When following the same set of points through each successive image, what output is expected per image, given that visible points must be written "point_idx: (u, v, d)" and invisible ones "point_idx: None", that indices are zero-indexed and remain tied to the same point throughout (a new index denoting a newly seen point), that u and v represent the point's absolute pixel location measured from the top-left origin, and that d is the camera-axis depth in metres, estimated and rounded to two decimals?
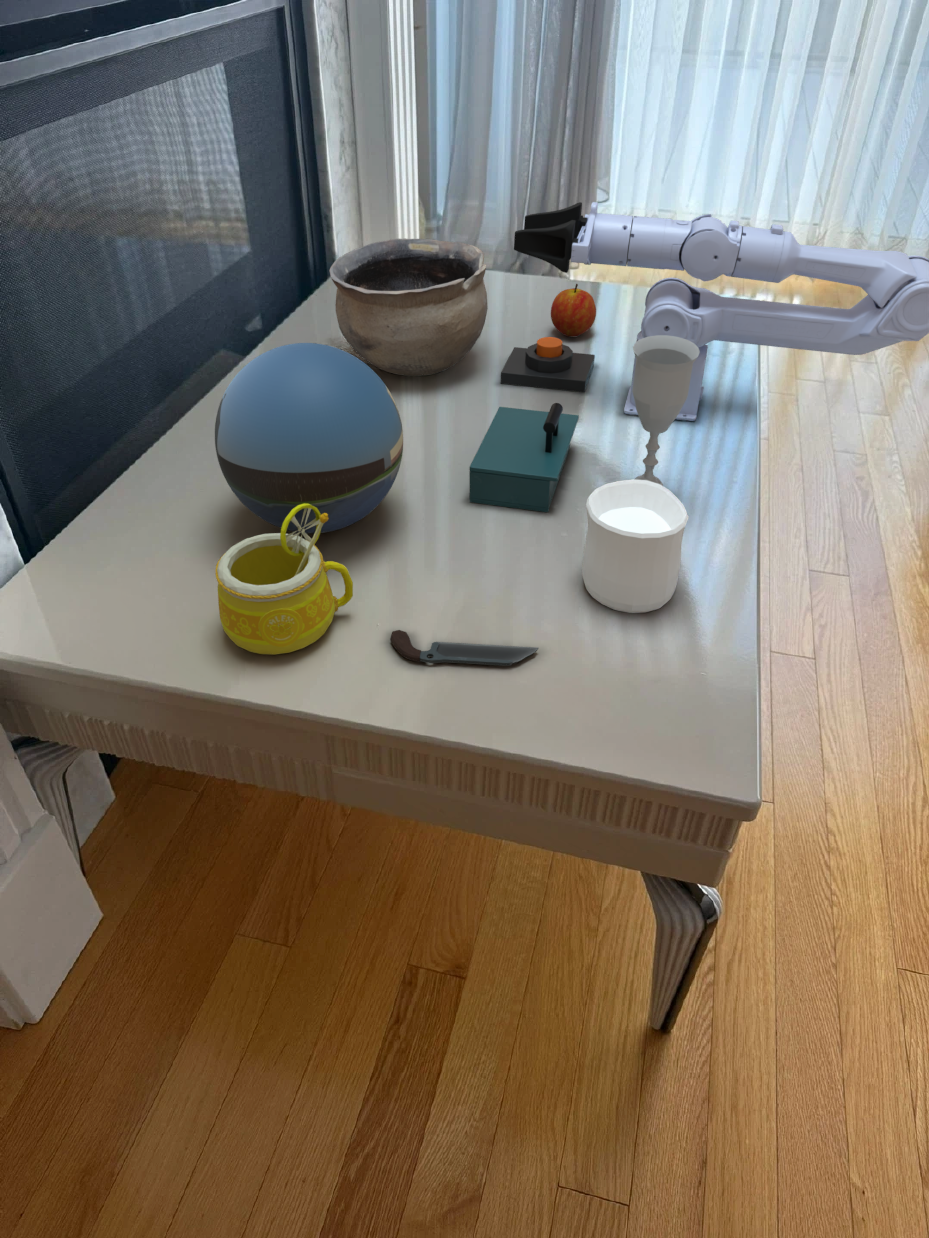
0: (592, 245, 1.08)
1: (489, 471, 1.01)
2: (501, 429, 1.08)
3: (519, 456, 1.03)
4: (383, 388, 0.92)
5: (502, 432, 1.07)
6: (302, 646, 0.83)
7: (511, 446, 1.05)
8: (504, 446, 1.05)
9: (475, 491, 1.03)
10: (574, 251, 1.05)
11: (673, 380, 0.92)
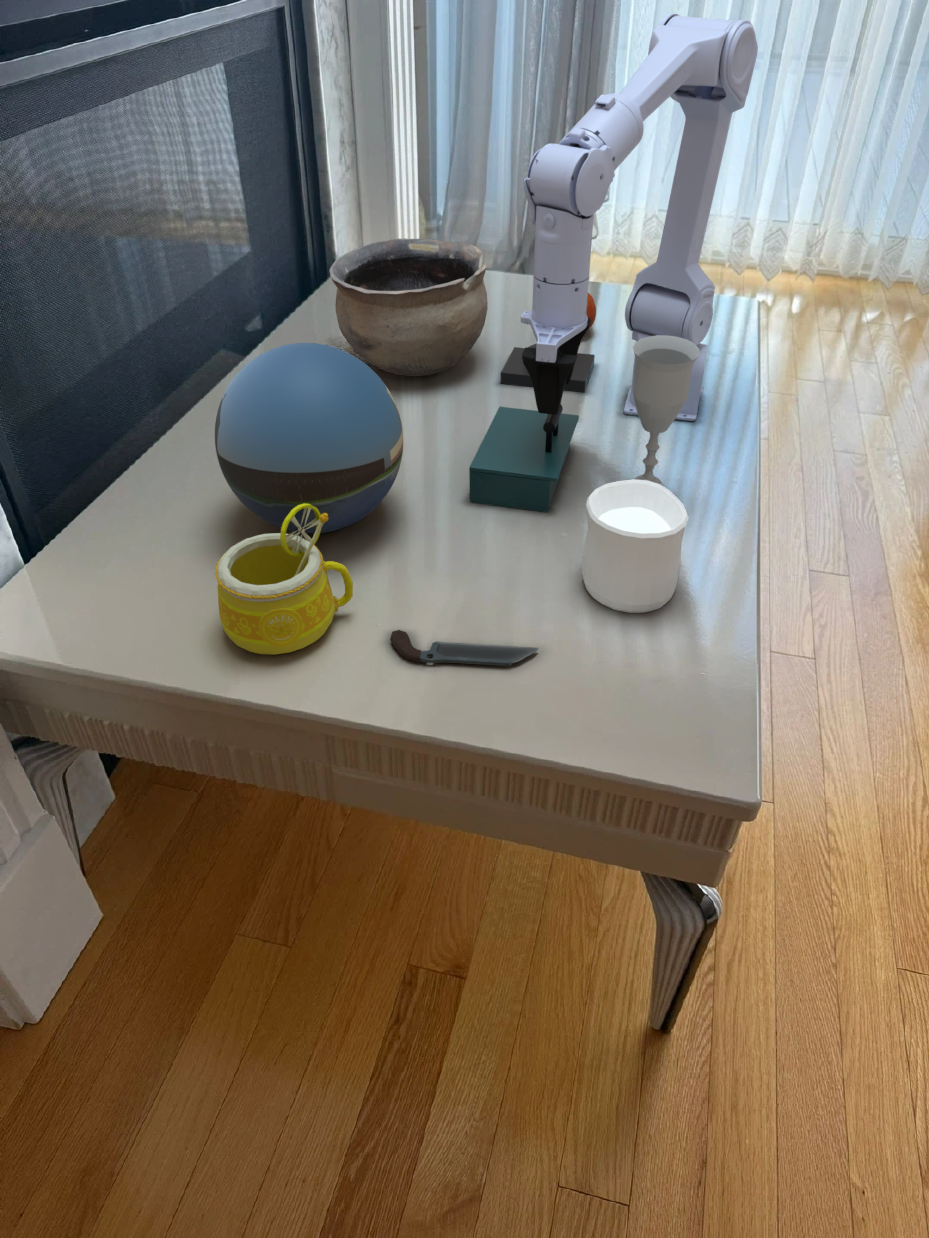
0: (554, 326, 0.93)
1: (489, 471, 1.01)
2: (501, 429, 1.08)
3: (519, 456, 1.03)
4: (383, 388, 0.92)
5: (502, 432, 1.07)
6: (302, 646, 0.83)
7: (511, 446, 1.05)
8: (504, 446, 1.05)
9: (475, 491, 1.03)
10: (542, 358, 0.91)
11: (673, 380, 0.92)
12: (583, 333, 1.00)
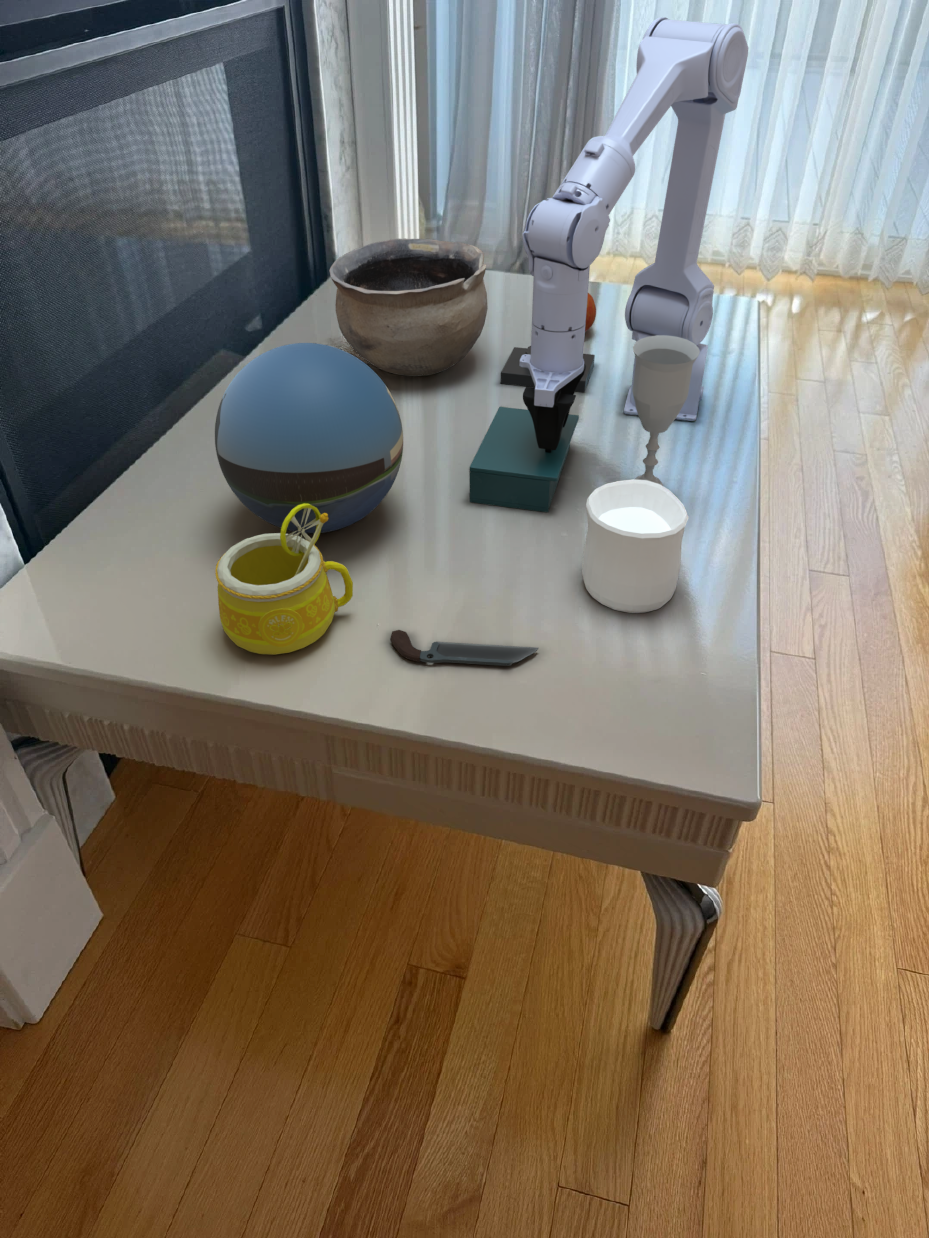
0: (552, 370, 0.96)
1: (489, 471, 1.01)
2: (501, 429, 1.08)
3: (519, 456, 1.03)
4: (383, 388, 0.92)
5: (502, 432, 1.07)
6: (302, 646, 0.83)
7: (511, 446, 1.05)
8: (504, 446, 1.05)
9: (475, 491, 1.03)
10: (540, 403, 0.94)
11: (673, 380, 0.92)
12: (578, 379, 1.02)
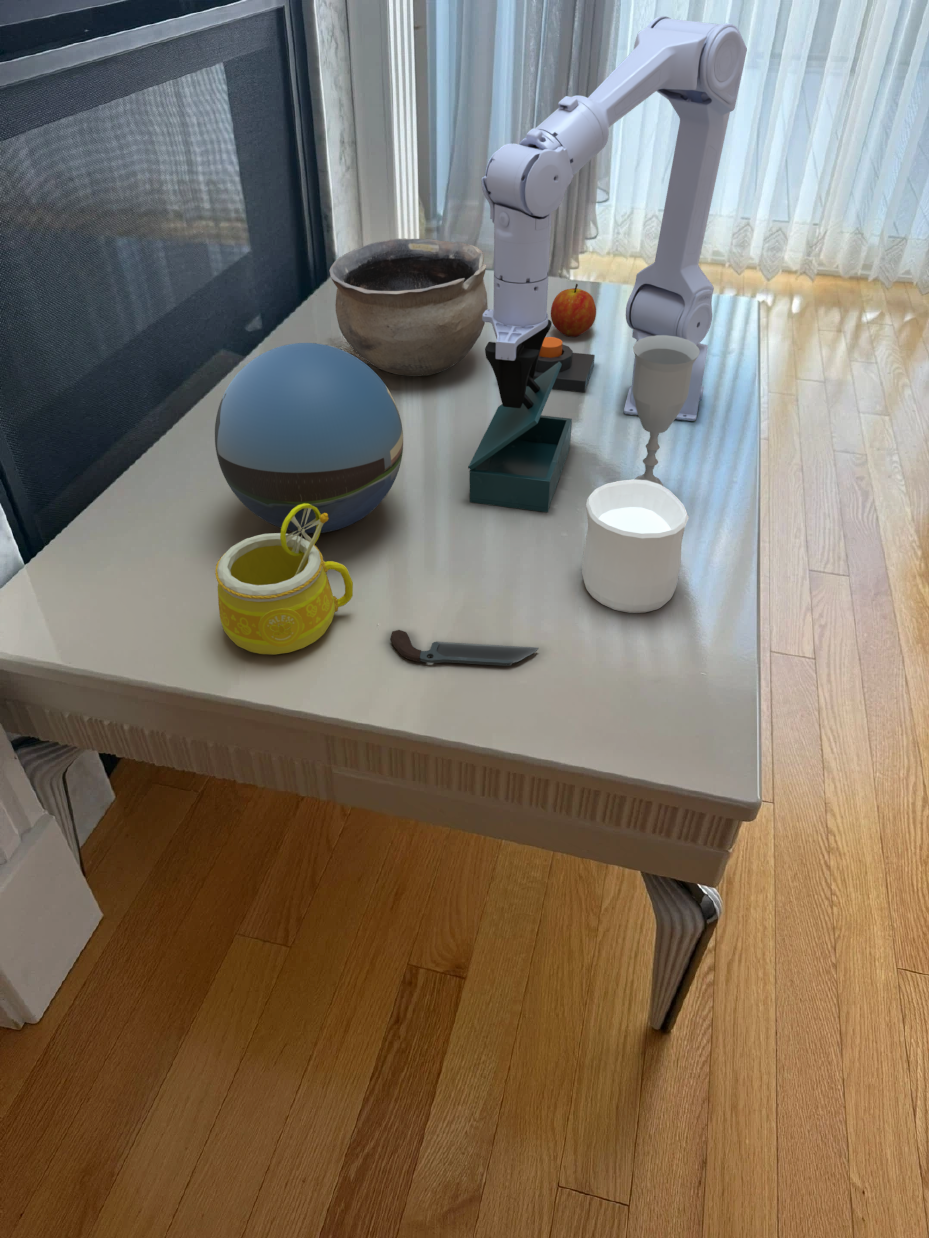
0: (515, 324, 0.94)
1: (484, 458, 1.00)
2: (496, 421, 1.07)
3: (507, 428, 1.01)
4: (383, 388, 0.92)
5: (497, 422, 1.07)
6: (302, 646, 0.83)
7: (502, 427, 1.03)
8: (497, 431, 1.04)
9: (475, 491, 1.03)
10: (502, 356, 0.92)
11: (673, 380, 0.92)
12: (544, 335, 1.00)
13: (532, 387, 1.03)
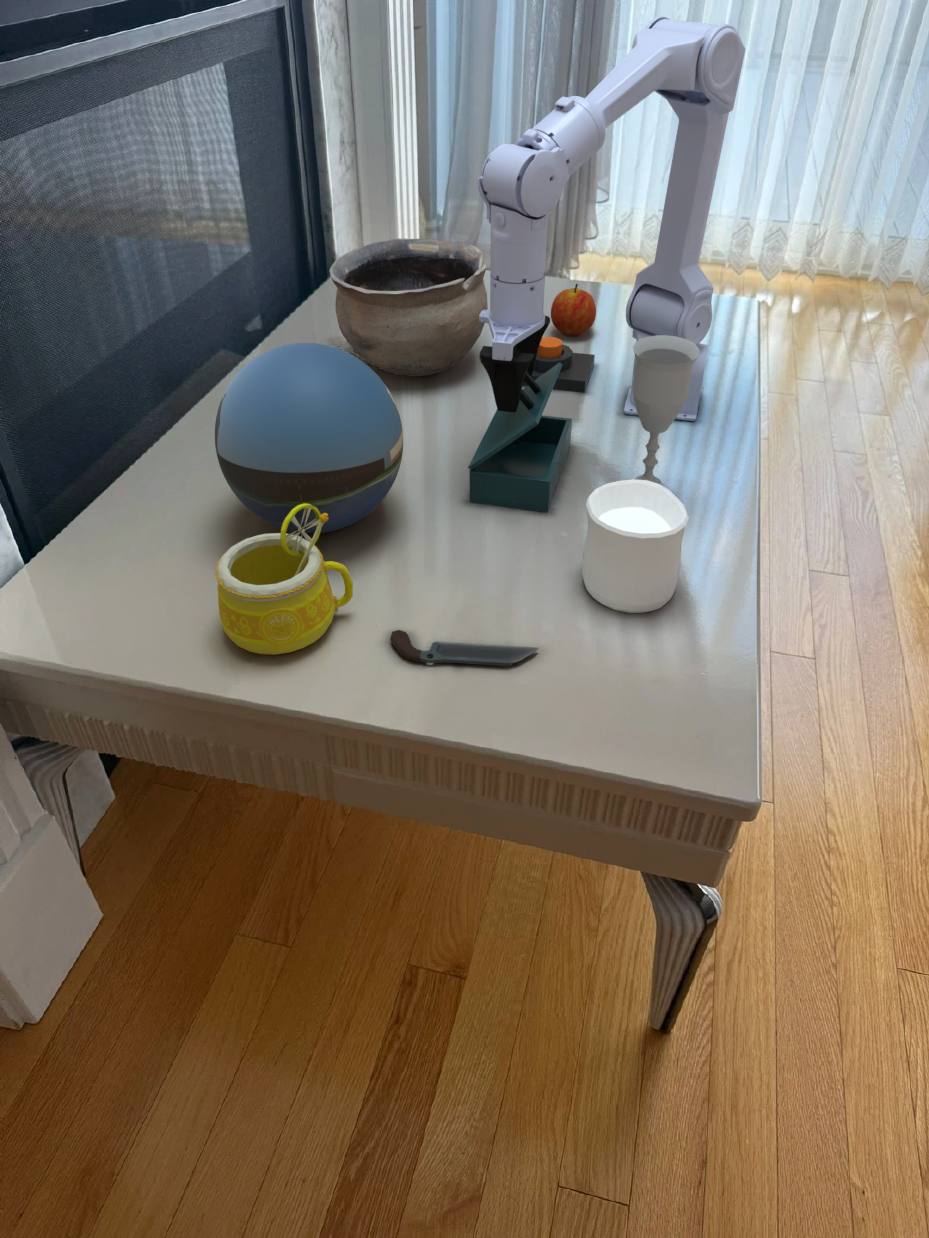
0: (511, 324, 0.94)
1: (484, 458, 1.00)
2: (496, 421, 1.07)
3: (507, 429, 1.01)
4: (383, 388, 0.92)
5: (497, 422, 1.07)
6: (302, 646, 0.83)
7: (502, 427, 1.03)
8: (497, 431, 1.04)
9: (475, 491, 1.03)
10: (498, 356, 0.92)
11: (673, 380, 0.92)
12: (542, 332, 1.01)
13: (533, 388, 1.03)
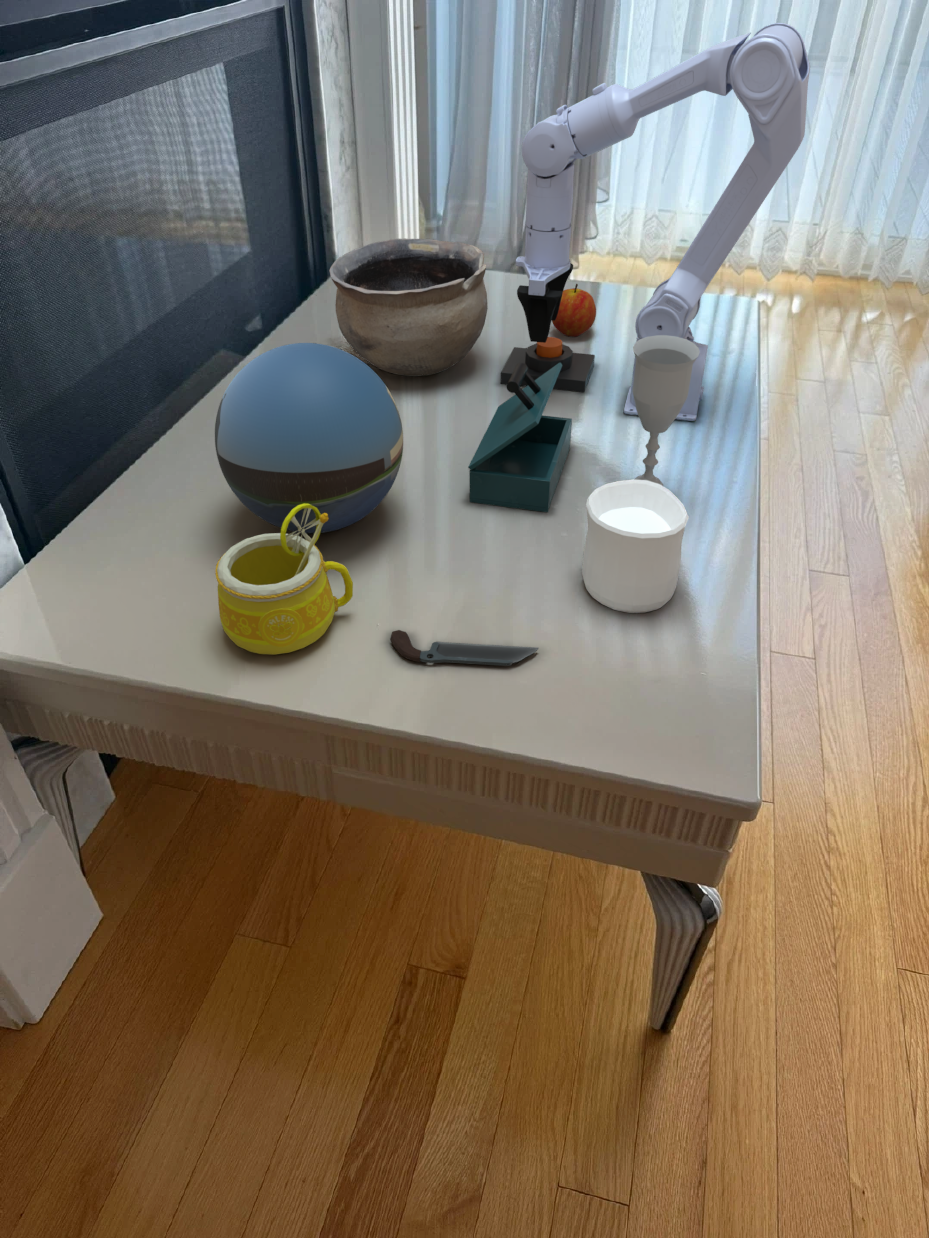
0: (543, 267, 1.14)
1: (484, 458, 1.00)
2: (496, 421, 1.07)
3: (507, 429, 1.01)
4: (383, 388, 0.92)
5: (497, 422, 1.07)
6: (302, 646, 0.83)
7: (502, 427, 1.03)
8: (497, 431, 1.04)
9: (475, 491, 1.03)
10: (534, 292, 1.12)
11: (673, 380, 0.92)
12: (567, 276, 1.20)
13: (533, 388, 1.03)
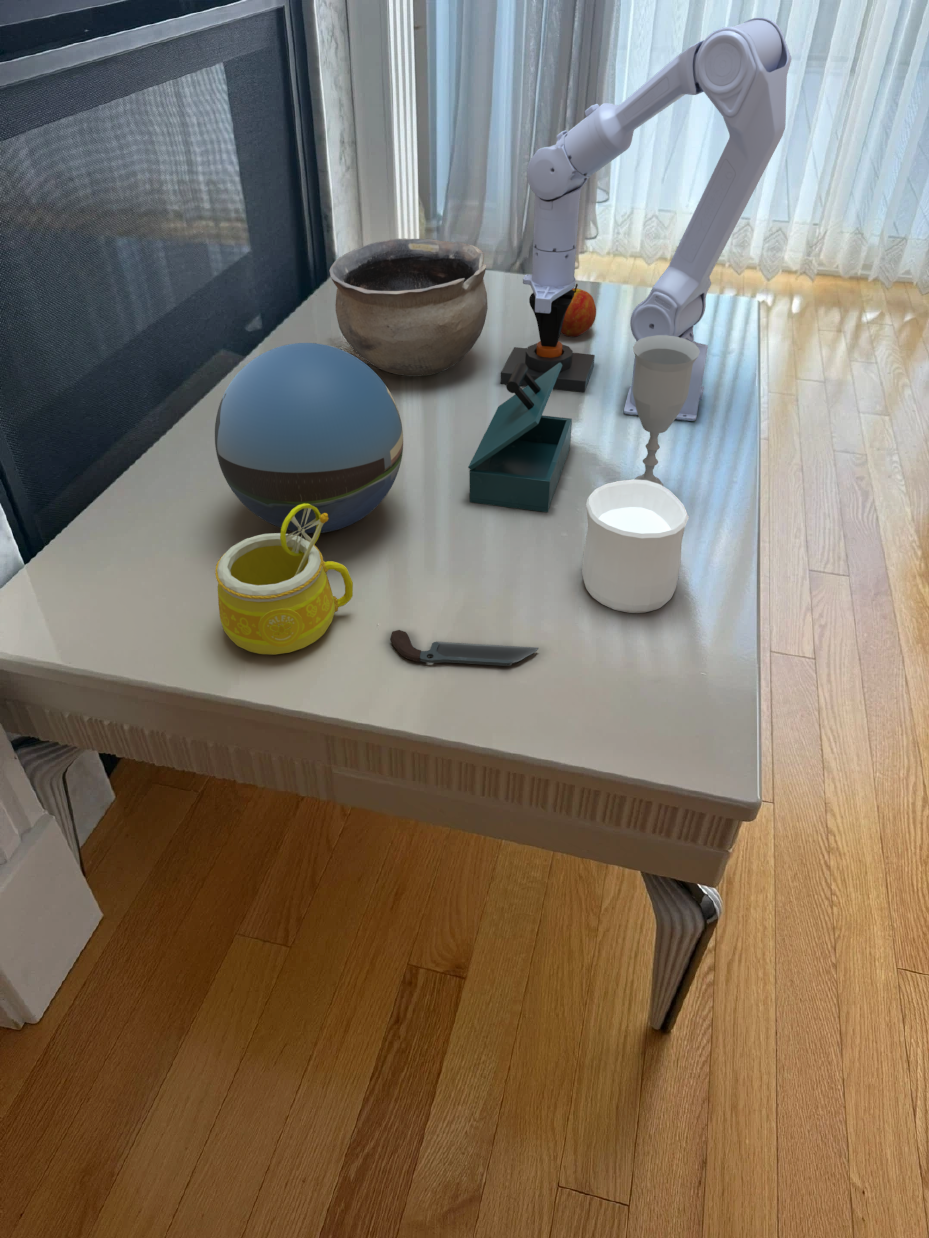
0: (549, 285, 1.19)
1: (484, 458, 1.00)
2: (496, 421, 1.07)
3: (507, 429, 1.01)
4: (383, 388, 0.92)
5: (497, 422, 1.07)
6: (302, 646, 0.83)
7: (502, 427, 1.03)
8: (497, 431, 1.04)
9: (475, 491, 1.03)
10: (540, 310, 1.17)
11: (673, 380, 0.92)
12: None
13: (533, 388, 1.03)
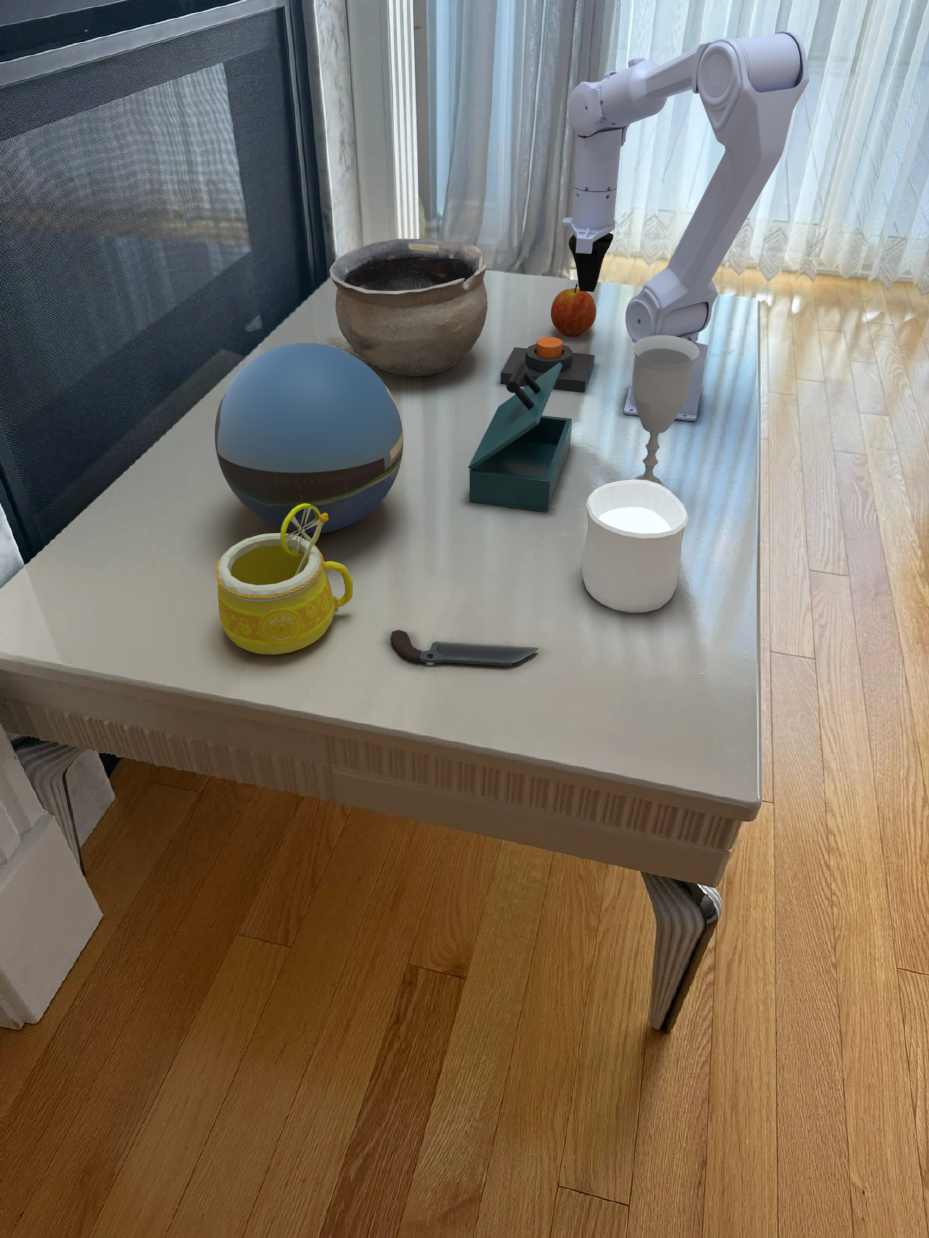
0: (590, 226, 1.19)
1: (484, 458, 1.00)
2: (496, 421, 1.07)
3: (507, 429, 1.01)
4: (383, 388, 0.92)
5: (497, 422, 1.07)
6: (302, 646, 0.83)
7: (502, 427, 1.03)
8: (497, 431, 1.04)
9: (475, 491, 1.03)
10: (581, 250, 1.17)
11: (673, 380, 0.92)
12: None
13: (533, 388, 1.03)
